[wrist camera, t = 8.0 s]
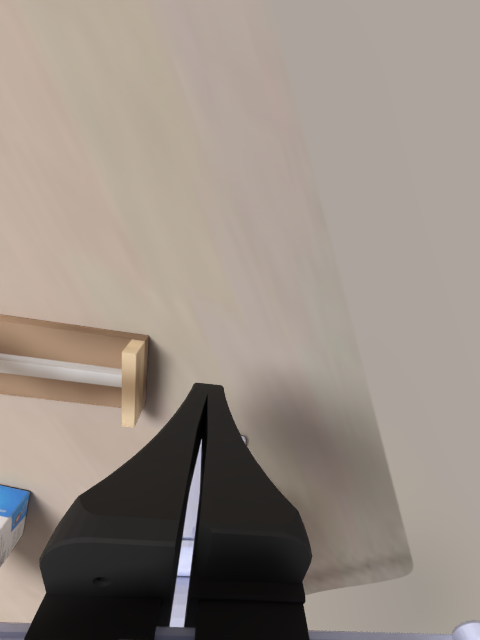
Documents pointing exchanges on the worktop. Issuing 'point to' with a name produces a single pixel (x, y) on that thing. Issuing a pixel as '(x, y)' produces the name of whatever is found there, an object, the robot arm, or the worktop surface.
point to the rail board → (74, 364)
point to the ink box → (11, 518)
